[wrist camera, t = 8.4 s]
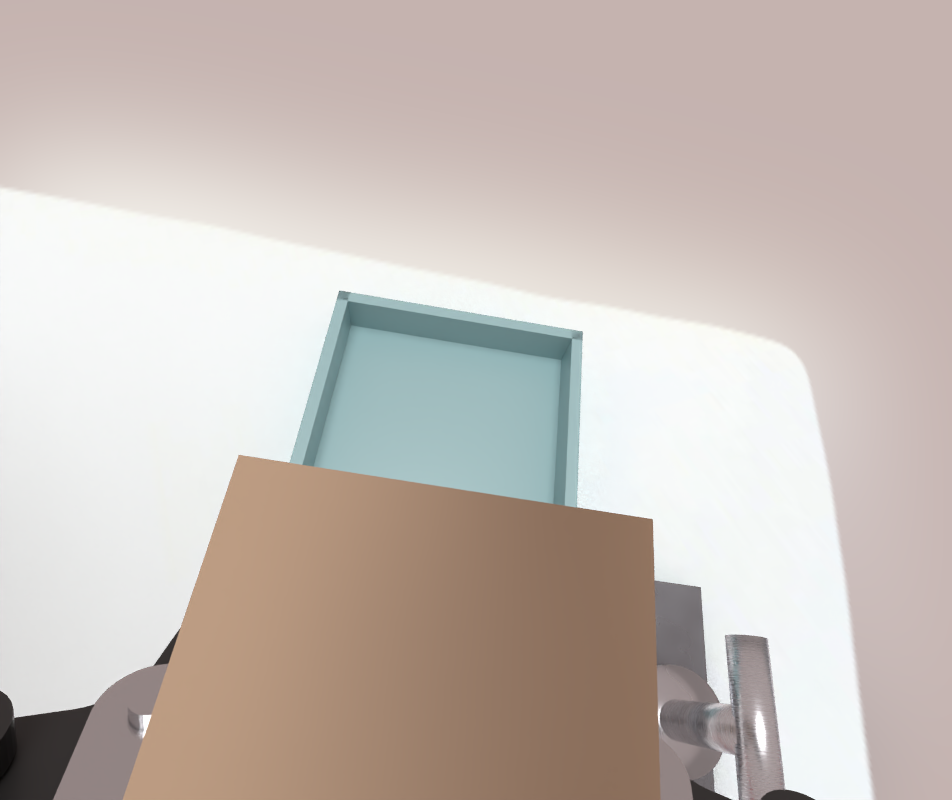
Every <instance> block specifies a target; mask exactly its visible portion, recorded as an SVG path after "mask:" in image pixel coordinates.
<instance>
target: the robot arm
mask: <svg viewBox="0 0 952 800" xmlns="http://www.w3.org/2000/svg"><path fill="white" fill-rule="evenodd" d="M179 631H180V629H179ZM179 631H178V632H177V634H176V635H175V636H174V638H173V639H172V641H171V642H170V643H169V645H168V646H167V648H166V649H165V650H164V652H163V653H162V655H161V656H160V658H159V659H158V660H157V662H156V663H155V665H154V666H151V667H147V668H144V669H141V670H138V671H136V672H134V673H132V674H130V675H127V676H126V677H124V678H122V679H121V680H119V681H117V682H116V683H115V684H114V685H112V686H111V687H110V688H108V689H107V690H106V691H105V692H104V693H103V694H102V695H101V697H100V698H99V699H98V700H97V702H96V703H95V704H94V705H91V706H87V707H84V708H78V709H73V710H67V711H59V712H52V713H45V714H38V715H31V716H24V717H17V718H14V711H13V706H12V702H11V700H10V699H9V698H8V696H7V695H5V694H4V693H3V692H1V691H0V800H123V797H124V794H125V791H126V788H127V785H128V782H129V779H130V776H131V774H132V771H133V768H134V765H135V762H136V759H137V756H138V753H139V750H140V747H141V744H142V741H143V738H144V735H145V732H146V729H147V726H148V723H149V720H150V717H151V714H152V711H153V708H154V705H155V702H156V699H157V696H158V693H159V690H160V688H161V685H162V682H163V679H164V676H165V673H166V670H167V667H168V664H169V661H170V658H171V655H172V652H173V649H174V646H175V643H176V640H177V637H178V634H179ZM659 761H660V796H661V800H731V799H729V798H727V797H724V796H722V795H720V794H717V793H715V792H713V791H710V790H708V789H706V788H704V787H702V786H700V785H699V784H697V783H695V782H694V781H692V780H691V779H690V778H689V775H688V773H687V770H686V768H685V766H684V765H683V763H682V761H681V760H680V758H679V757H678V755H677V754H676V753H675V752H674V750H673V749H672V748H671V747H670V746H669V745H668V744H667V743H666V742H664V741H663V740H662V739H661V738H659ZM761 800H815V799H813V798H811V797H809V796H807V795H804V794H801V793H798V792H795V791H791V790H781V789H779V790H773V791H770V792H768V793H766V794H765V795H764V796H763V797H762V798H761Z"/></svg>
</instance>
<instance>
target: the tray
mask: <svg viewBox="0 0 952 800" xmlns="http://www.w3.org/2000/svg"><path fill="white" fill-rule="evenodd" d="M582 335H583V332H582V331H576V330H570V329H564V328H558V327H552V326H546V325H540V324H534V323H528V322H522V321H516V320H511V319H505V318H499V317H493V316H487V315H481V314H475V313H469V312H463V311H457V310H451V309H445V308H439V307H434V306H428V305H422V304H416V303H410V302H404V301H398V300H392V299H386V298H380V297H374V296H368V295H362V294H357V293H351V292H345V291H339V294H338V297H337V301H336V304H335V308H334V311H333V315H332V318H331V322H330V325H329V328H328V332H327V335H326V339H325V342H324V346H323V349H322V353H321V356H320V360H319V363H318V367H317V370H316V373H315V377H314V380H313V384H312V387H311V391H310V394H309V398H308V401H307V405H306V408H305V412H304V415H303V418H302V422H301V425H300V429H299V432H298V436H297V439H296V443H295V446H294V450H293V453H292V456H291V460H290V463H294V464H300V465H306V466H313V467H319V468H326V469H332V470H339V471H345V472H351V473H358V474H364V475H371V476H377V477H384V478H390V479H397V480H403V481H409V482H416V483H422V484H429V485H435V486H442V487H448V488H454V489H461V490H467V491H474V492H480V493H487V494H493V495H499V496H506V497H512V498H519V499H525V500H532V501H538V502H545V503H551V504H557V505H564V506H570V507H577V486H578V456H579V426H580V395H581V365H582Z"/></svg>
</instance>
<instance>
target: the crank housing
mask: <svg viewBox="0 0 952 800" xmlns="http://www.w3.org/2000/svg"><path fill="white" fill-rule="evenodd" d="M654 583H655V619H656V654H657V690H658V725H659V738H661V739H662V740H663V741H664V742H666V743H667V744H668V745H669V746H670V747H671V748H672V749H673V750H674V752H675V753H676V754H677V755H678V757H679V758H680V760H681V761H682V763H683V765H684V766H685V768H686V770H687V773H688V775H689V778H690V779H691V780H692V781H694V782H695V783H697V784H699V785H700V786H702V787H704V788H706V789H708V790H710V791H713V792H714V777H713V768H714V767H715V765H716V764H717V763H718V761H719V759H720V757H721V755H722V752H723V753H727V754H732V755H735V759H736V771H737V783H738V794H739V800H761V798H762V797H763V796H764V795H765V794H766V793H768V792H770V791H773V790H779V789H781V790H785V783H784V774H783V766H782V757H781V749H780V740H779V731H778V723H777V714H776V706H775V697H774V689H773V680H772V671H771V663H770V654H769V646H768V639H767V638H763V637H758V636H749V635H726V636H725V640H726V652H727V664H728V676H729V688H730V699H731V704H721V703H719V701H718V698H717V697H716V695H715V693H714V691H713V690H712V689H711V687H710V686H709V685H708V684H707V674H706V659H705V644H704V630H703V615H702V600H701V587H695V586H688V585H681V584H674V583H667V582H660V581H654Z"/></svg>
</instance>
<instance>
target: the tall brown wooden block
mask: <svg viewBox="0 0 952 800" xmlns="http://www.w3.org/2000/svg"><path fill="white" fill-rule="evenodd" d="M123 800H661V796H660V761H659V725H658V690H657V654H656V619H655V583H654V548H653V519H647V518H641V517H635V516H628V515H622V514H615V513H609V512H602V511H596V510H590V509H583V508H577V507H570V506H564V505H557V504H551V503H545V502H538V501H532V500H525V499H519V498H512V497H506V496H499V495H493V494H487V493H480V492H474V491H467V490H461V489H454V488H448V487H442V486H435V485H429V484H422V483H416V482H409V481H403V480H397V479H390V478H384V477H377V476H371V475H364V474H358V473H351V472H345V471H339V470H332V469H326V468H319V467H313V466H306V465H300V464H294V463H287V462H281V461H274V460H268V459H261V458H255V457H249V456H242V455H239V456H238V459H237V462H236V465H235V468H234V471H233V474H232V477H231V480H230V483H229V486H228V489H227V492H226V495H225V498H224V501H223V504H222V507H221V510H220V513H219V516H218V518H217V521H216V524H215V527H214V530H213V533H212V536H211V539H210V542H209V545H208V548H207V551H206V554H205V557H204V560H203V563H202V566H201V569H200V572H199V575H198V578H197V581H196V584H195V587H194V590H193V593H192V596H191V599H190V602H189V604H188V607H187V610H186V613H185V616H184V619H183V622H182V625H181V628H180V631H179V634H178V637H177V640H176V643H175V646H174V649H173V652H172V655H171V658H170V661H169V664H168V667H167V670H166V673H165V676H164V679H163V682H162V685H161V688H160V690H159V693H158V696H157V699H156V702H155V705H154V708H153V711H152V714H151V717H150V720H149V723H148V726H147V729H146V732H145V735H144V738H143V741H142V744H141V747H140V750H139V753H138V756H137V759H136V762H135V765H134V768H133V771H132V774H131V776H130V779H129V782H128V785H127V788H126V791H125V794H124V797H123Z"/></svg>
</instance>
